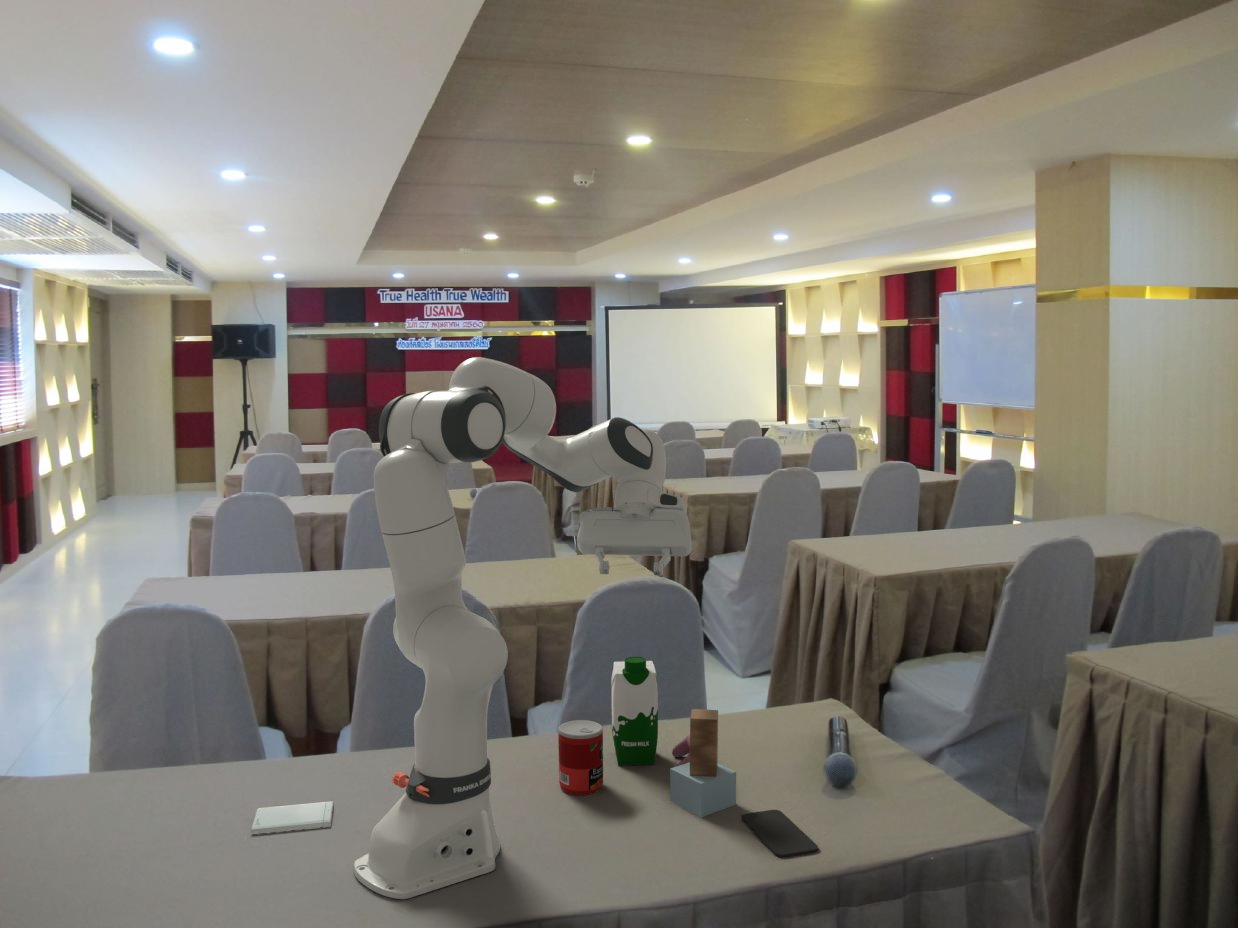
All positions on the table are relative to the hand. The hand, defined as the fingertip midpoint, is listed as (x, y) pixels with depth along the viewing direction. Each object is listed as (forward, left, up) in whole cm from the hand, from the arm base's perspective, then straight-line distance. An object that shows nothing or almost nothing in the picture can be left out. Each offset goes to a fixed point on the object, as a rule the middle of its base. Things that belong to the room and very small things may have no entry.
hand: (630, 573), depth 174 cm
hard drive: (-47, +34, -40) cm, 70 cm away
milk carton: (+12, +10, -40) cm, 43 cm away
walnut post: (+5, -12, -34) cm, 36 cm away
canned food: (-4, +8, -40) cm, 41 cm away
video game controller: (+16, +1, -40) cm, 43 cm away
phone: (+5, -28, -40) cm, 49 cm away
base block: (+6, -12, -40) cm, 42 cm away
